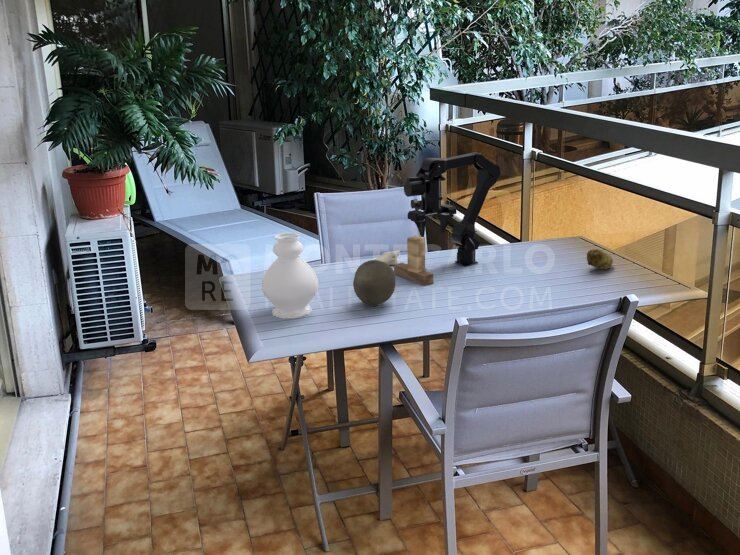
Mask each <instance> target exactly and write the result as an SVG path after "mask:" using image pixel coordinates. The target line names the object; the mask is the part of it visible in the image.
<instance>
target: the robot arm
mask: <svg viewBox="0 0 740 555" xmlns="http://www.w3.org/2000/svg"><path fill="white" fill-rule="evenodd" d="M468 166H473V168H474V169H475V170H476V171H477V174H476V186H475V189H474V191H473V194H472V196H471V199H470V201H469V203H468V205H467V208H466V210H465V212H464V215H463V218H462V220H461V221H460V222H456V221H455V223H453V224H454V225H453V228H452V230H451V231H450V232H451V236H450V238H451V240H452V242H453V243H454V245H455V246H456V247H457V252H456V260H455V261H454V263H455V264H458V265H461V266H462V267H463V266H464V267H469V266H472V265H477V264H478V263H479V261H476V250H478V249H479V247H480V243H479V242H478V241H477V240H476V239H475V235H476V226H475V224H476V222H477V220H478V217H479V215H480V214H481V213H480V212H481V210H482V208H483V206H484V203H485V200H486V198H487V196H488V193H489V190H490V189H491V188H492V187H494V185H496V183H497V181H498V180H499V179H500V177H501V174H502V170H501V168H500V166H499V165H498V164H495V163H493V162H492V161H490V160H489V159H487V158H486V157H485V156H484V155H483V154H482V153H480V152H475V151H472V152H470V153H466V154H460V155H455V156H450V157H443V158H442V157H426V158H424V159H423V161H422V163H421V166H420V168H419V170H418V171H417V173H416V174H415V176H412V177H411V176H407V177H406V181H405V182H404V185H403V193H404V195H405V196H406V197H407V198H409V197H410V198H411V197H416V196H417V197H418V196H421V199H420V200H418V199H417V198H415V199H414V198H413V199H411V200H410V208H411V210H409V211H408V213H407V220H410V221H411V222H413V223H414V224H415V225H416V228H417V230H418V233H419V236H421V237H425V233H426V227H427V226H426V225H427V220H426V218H427V217H429V216H435V215H438V217H439V223H440V224H439V229H440V234H442V235H444V233H445V231H446V229H447V227H448V225H449V223H450V221H451V220H452V218H453V217H454V215H457V208H456V206H455V205H451V204H441V201H442V200H443V196H441V182H442V181H443V182H444V181H446V178H445V177H444V176H443V174H445V173H447V171H450V170H452V169H453V170H454V169H457V168H458V169H459V168H463V167H464V168H465V167H468ZM412 209H414V210H412Z"/></svg>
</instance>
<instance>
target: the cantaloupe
mask: <svg viewBox="0 0 740 555" xmlns="http://www.w3.org/2000/svg"><path fill="white" fill-rule="evenodd" d="M396 279H397V278H396V274H395V273H394V268H392V265H391V266H390V265H388V264H387V263H385V262H382V261H379V260H375V259H372V260H367V261H365V262H363V263H361V264H360V265H359V266H358V267H357V269H356V271H355V273H354V276H353V282H352V285H353V291H354V293H355V296H356V298H358V300H360V301H361V302H362V303H364V305H367V306H372V307H377V306H380V305H382V304H383V303H385V302H387V301H389V299H390V298H391V297H392V295H393V294H394V293H395V292H394V291H395V288H396V283H397V282H396V281H397V280H396Z"/></svg>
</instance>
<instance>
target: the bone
mask: <svg viewBox="0 0 740 555" xmlns="http://www.w3.org/2000/svg"><path fill="white" fill-rule="evenodd" d="M399 255H400V250H399V249H398V250H393V251H385V252H382V253H381V256H379V257H378V256H377V257H376V258H374V260H379V261H382V262H385V263H387V264H388V265H391V266H394V264H398V260H397V259H398V257H399Z"/></svg>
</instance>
